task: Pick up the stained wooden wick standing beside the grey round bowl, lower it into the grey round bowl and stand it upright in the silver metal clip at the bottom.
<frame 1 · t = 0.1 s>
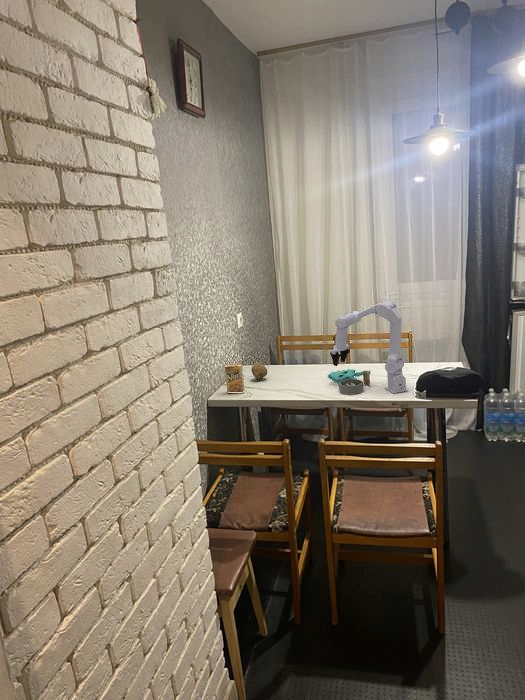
hand: (339, 363, 264), 11 cm above the table, tool pointing down, fingers open, 7 cm apart
wood wick: (366, 384, 259), on the table
natural sponge: (260, 380, 285), on the table
alien figure: (347, 378, 275), on the table
grey round bowl: (351, 391, 251), on the table
candy box: (236, 393, 266), on the table
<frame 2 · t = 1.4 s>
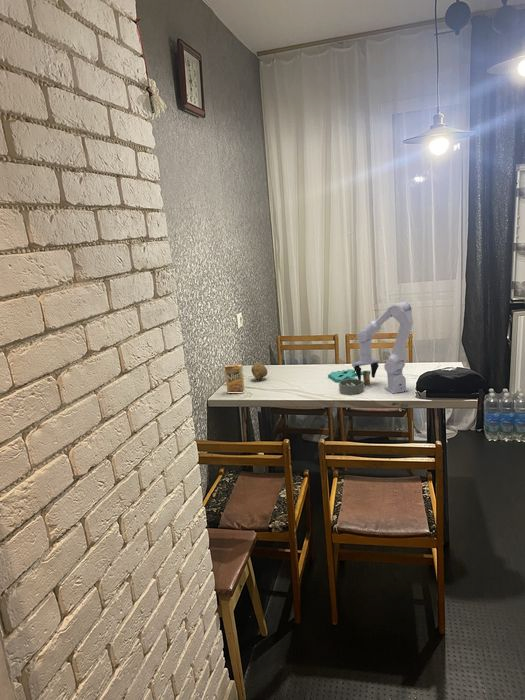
hand: (366, 378, 259), 3 cm above the table, tool pointing down, fingers open, 7 cm apart
nothing on the table moved.
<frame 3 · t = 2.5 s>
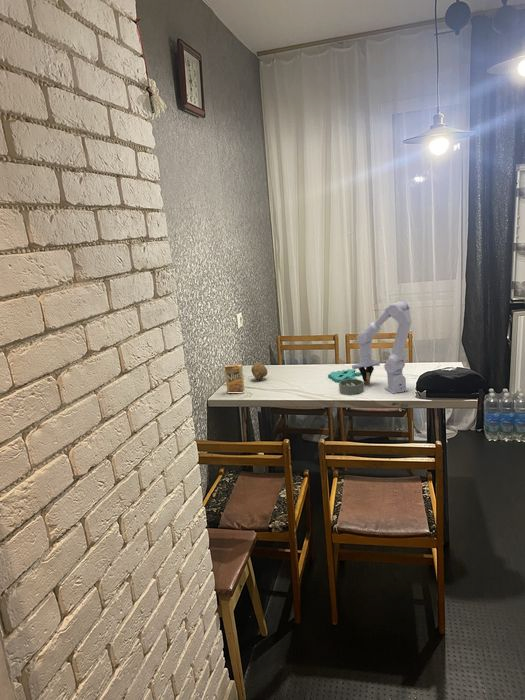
hand: (366, 380, 259), 2 cm above the table, tool pointing down, fingers closed on wood wick, 2 cm apart
wood wick: (366, 384, 259), on the table, touching gripper
everything else where it was.
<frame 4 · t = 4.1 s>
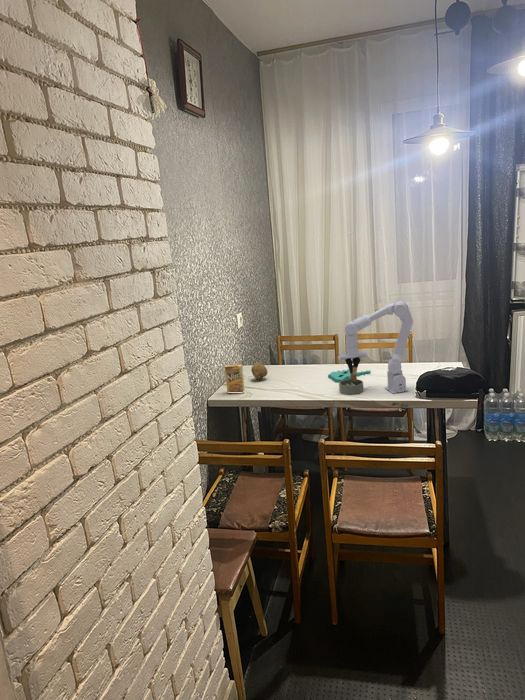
hand: (353, 372, 251), 9 cm above the table, tool pointing down, fingers closed on wood wick
wood wick: (353, 379, 251), point 5 cm above the table, touching gripper
everything else where it was.
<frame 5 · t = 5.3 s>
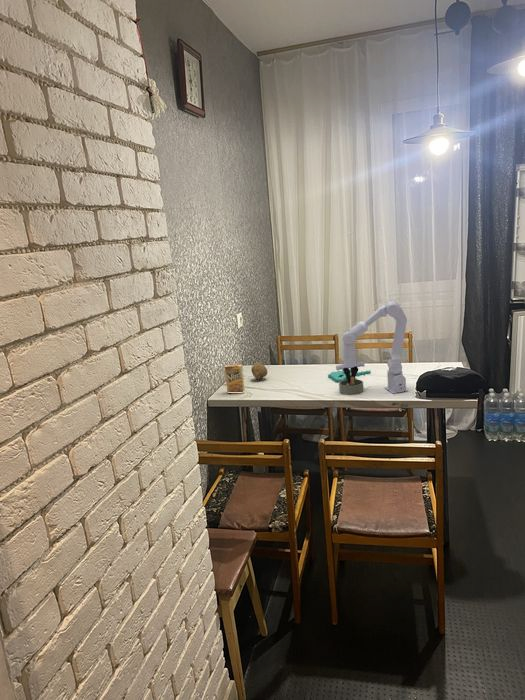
hand: (350, 381, 250), 5 cm above the table, tool pointing down, fingers closed on wood wick, 2 cm apart
wood wick: (351, 389, 251), point 1 cm above the table, touching gripper, grey round bowl
everything else where it was.
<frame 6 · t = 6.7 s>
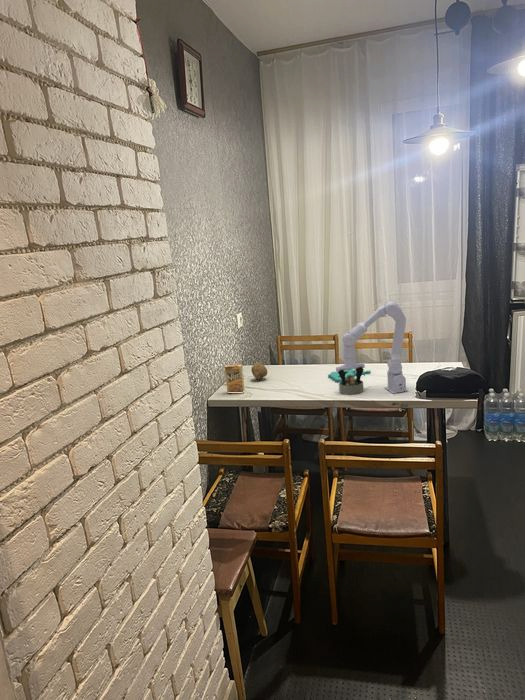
hand: (351, 383, 250), 4 cm above the table, tool pointing down, fingers open, 7 cm apart
wood wick: (351, 389, 251), point 1 cm above the table, touching grey round bowl
everything else where it was.
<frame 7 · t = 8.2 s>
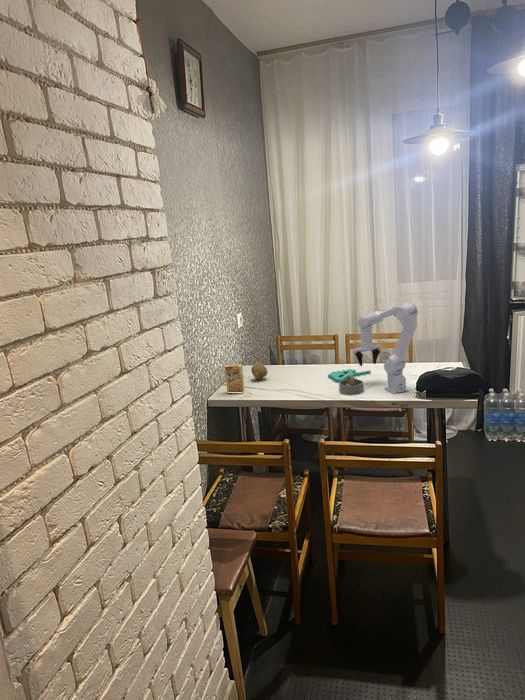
hand: (367, 364, 258), 10 cm above the table, tool pointing down, fingers open, 7 cm apart
nothing on the table moved.
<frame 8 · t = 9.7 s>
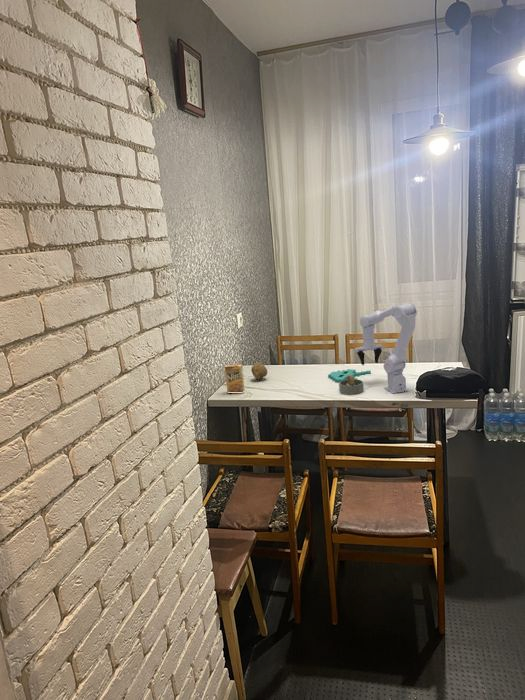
hand: (369, 363, 259), 10 cm above the table, tool pointing down, fingers open, 7 cm apart
nothing on the table moved.
at the end: wood wick 0.1 cm off-centre on the grey round bowl, point 0.9 cm above the grey round bowl's base; wood wick tilted 0°; the gripper is holding nothing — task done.
